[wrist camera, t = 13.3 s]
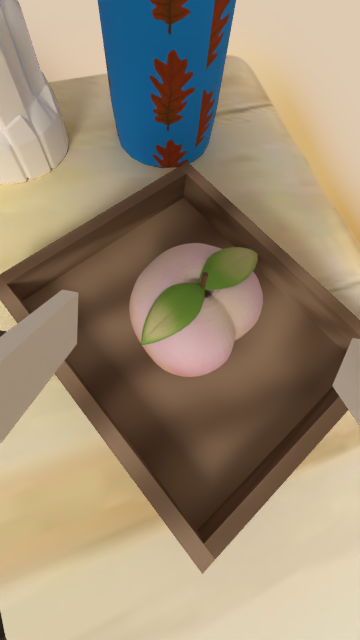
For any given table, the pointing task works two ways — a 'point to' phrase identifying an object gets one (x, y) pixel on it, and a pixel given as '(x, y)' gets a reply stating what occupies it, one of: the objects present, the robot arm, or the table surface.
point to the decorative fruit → (195, 306)
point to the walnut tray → (201, 391)
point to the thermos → (165, 74)
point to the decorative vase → (25, 105)
